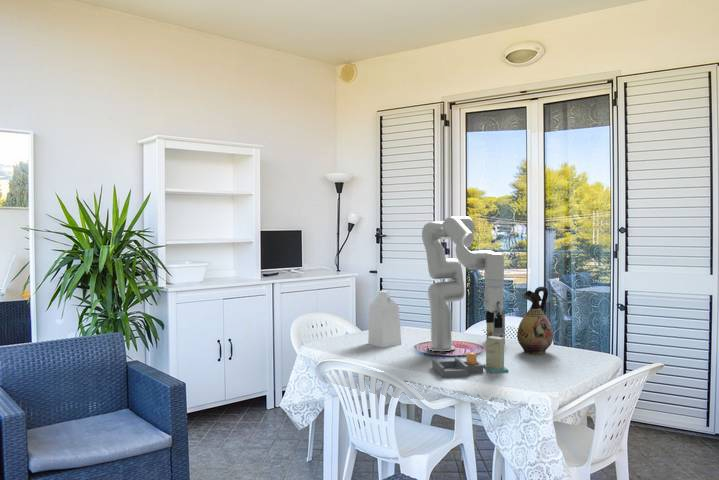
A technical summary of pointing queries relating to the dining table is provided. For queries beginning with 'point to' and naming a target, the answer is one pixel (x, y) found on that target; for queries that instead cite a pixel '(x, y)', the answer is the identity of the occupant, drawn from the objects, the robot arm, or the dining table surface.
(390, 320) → the milk
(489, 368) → the mat
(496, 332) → the coffee box
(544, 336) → the ceramic jug
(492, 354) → the skincare box
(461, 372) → the socket block
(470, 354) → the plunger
